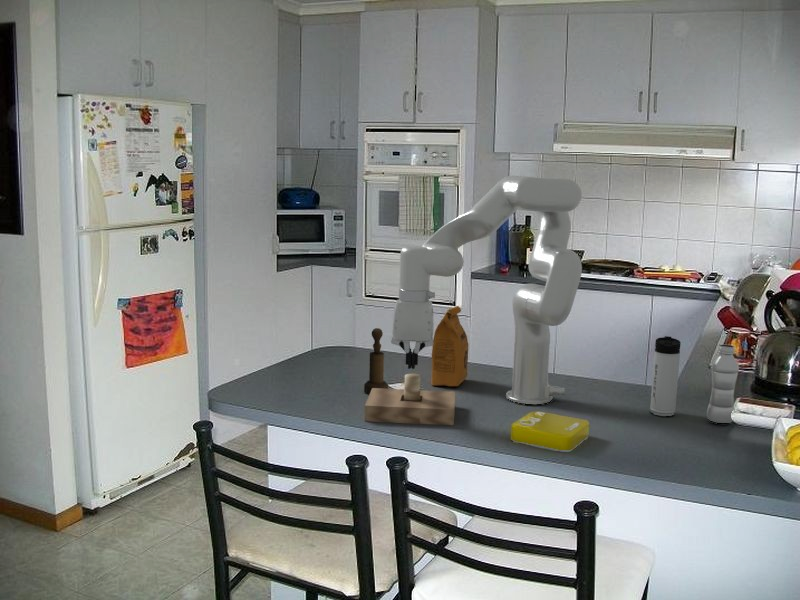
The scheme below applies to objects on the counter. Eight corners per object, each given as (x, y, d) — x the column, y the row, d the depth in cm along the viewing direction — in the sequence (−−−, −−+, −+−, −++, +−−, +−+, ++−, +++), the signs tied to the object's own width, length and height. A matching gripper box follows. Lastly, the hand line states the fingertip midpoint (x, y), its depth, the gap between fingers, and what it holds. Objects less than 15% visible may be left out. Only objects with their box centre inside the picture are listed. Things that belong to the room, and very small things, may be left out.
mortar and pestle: (389, 389, 244) (390, 326, 241) (386, 396, 238) (388, 331, 235) (365, 388, 245) (366, 325, 242) (362, 394, 238) (363, 330, 235)
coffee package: (472, 380, 256) (475, 306, 252) (458, 390, 245) (461, 313, 241) (441, 376, 260) (443, 303, 256) (425, 386, 249) (428, 310, 245)
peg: (420, 411, 225) (421, 373, 223) (419, 416, 220) (420, 378, 219) (404, 410, 225) (405, 373, 223) (403, 415, 221) (404, 377, 219)
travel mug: (674, 411, 230) (680, 337, 226) (675, 418, 224) (681, 342, 220) (649, 408, 231) (655, 335, 228) (649, 416, 225) (655, 340, 222)
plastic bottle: (700, 420, 222) (706, 344, 219) (721, 418, 225) (728, 342, 221) (717, 428, 216) (724, 349, 213) (739, 425, 219) (746, 348, 215)
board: (454, 406, 230) (455, 391, 229) (453, 425, 214) (454, 409, 213) (372, 402, 231) (372, 387, 231) (364, 421, 216) (364, 405, 215)
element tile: (568, 456, 196) (569, 435, 195) (507, 442, 203) (508, 423, 203) (590, 438, 208) (592, 418, 207) (532, 426, 216) (533, 407, 215)
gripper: (444, 295, 220) (441, 365, 224) (385, 292, 222) (383, 362, 225) (443, 300, 213) (440, 372, 216) (382, 297, 214) (380, 369, 217)
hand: (411, 367), depth 220 cm, fingers closed
